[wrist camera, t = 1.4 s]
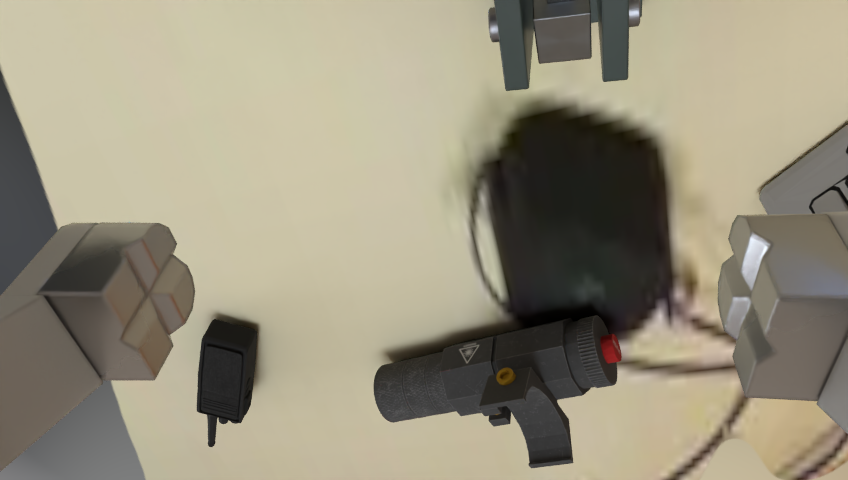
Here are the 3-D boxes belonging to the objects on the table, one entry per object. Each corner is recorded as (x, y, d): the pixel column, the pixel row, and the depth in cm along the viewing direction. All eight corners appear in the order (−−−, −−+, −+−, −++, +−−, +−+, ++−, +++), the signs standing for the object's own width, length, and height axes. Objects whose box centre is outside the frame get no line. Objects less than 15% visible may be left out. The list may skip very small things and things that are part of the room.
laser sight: (370, 338, 63) (344, 430, 55) (593, 281, 52) (598, 385, 45) (420, 393, 68) (403, 483, 61) (633, 351, 58) (642, 454, 50)
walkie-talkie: (273, 345, 62) (259, 455, 75) (245, 302, 65) (237, 415, 78) (211, 368, 59) (208, 480, 71) (185, 322, 62) (186, 436, 75)
